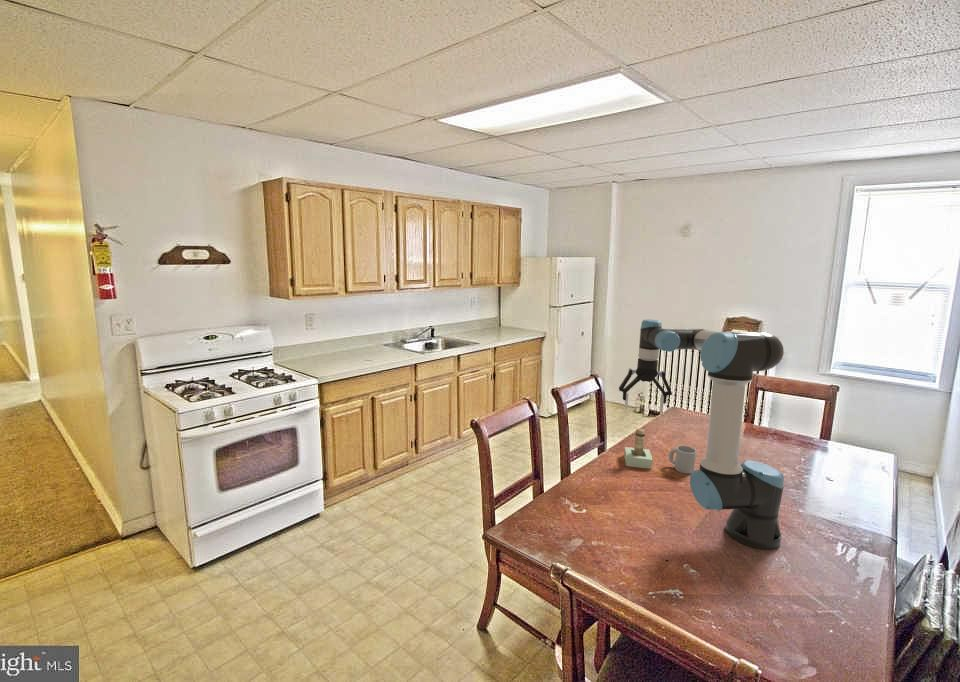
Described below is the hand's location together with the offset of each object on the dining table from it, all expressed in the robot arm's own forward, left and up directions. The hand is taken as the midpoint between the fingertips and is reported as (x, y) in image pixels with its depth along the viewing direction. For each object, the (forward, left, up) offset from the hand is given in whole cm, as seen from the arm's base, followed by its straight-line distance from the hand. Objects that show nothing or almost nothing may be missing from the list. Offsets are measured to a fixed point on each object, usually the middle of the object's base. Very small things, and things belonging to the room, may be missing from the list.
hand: (643, 409), depth 193 cm
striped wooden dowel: (0, 0, -23) cm, 23 cm away
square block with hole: (0, 0, -23) cm, 23 cm away
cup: (-1, -16, -24) cm, 29 cm away
